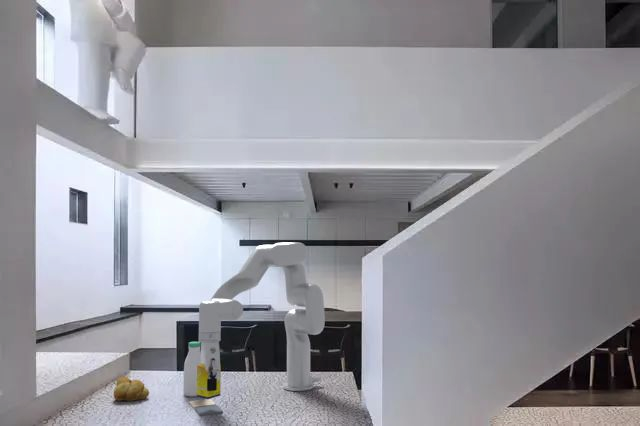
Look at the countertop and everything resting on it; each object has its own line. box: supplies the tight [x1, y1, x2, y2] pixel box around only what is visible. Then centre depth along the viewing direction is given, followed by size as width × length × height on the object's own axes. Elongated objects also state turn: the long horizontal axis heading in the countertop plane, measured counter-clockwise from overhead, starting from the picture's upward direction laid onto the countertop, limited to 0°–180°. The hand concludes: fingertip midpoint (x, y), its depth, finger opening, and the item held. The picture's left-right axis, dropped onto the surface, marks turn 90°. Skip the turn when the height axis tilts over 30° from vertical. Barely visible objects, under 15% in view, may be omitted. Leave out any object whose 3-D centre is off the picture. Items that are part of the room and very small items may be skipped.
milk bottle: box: [183, 341, 201, 398], centre depth 214 cm, size 8×8×20 cm
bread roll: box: [113, 375, 150, 402], centre depth 207 cm, size 13×10×8 cm
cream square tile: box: [188, 398, 217, 409], centre depth 199 cm, size 8×8×1 cm
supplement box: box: [196, 363, 222, 400], centre depth 191 cm, size 6×6×11 cm
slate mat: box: [194, 404, 224, 417], centre depth 191 cm, size 8×8×1 cm
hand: (208, 387), depth 191 cm, fingers closed on supplement box, 8 cm apart
